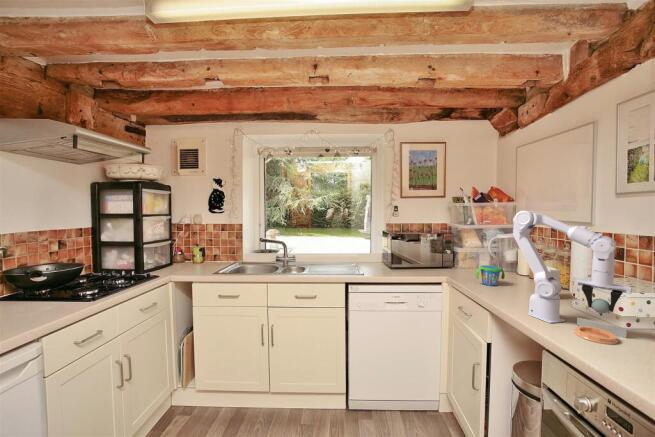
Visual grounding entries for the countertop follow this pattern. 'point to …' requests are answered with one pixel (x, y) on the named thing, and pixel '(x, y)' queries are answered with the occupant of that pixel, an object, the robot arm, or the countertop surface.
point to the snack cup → (490, 274)
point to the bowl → (596, 335)
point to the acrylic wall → (603, 327)
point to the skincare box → (555, 273)
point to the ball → (600, 306)
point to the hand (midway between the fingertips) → (600, 309)
